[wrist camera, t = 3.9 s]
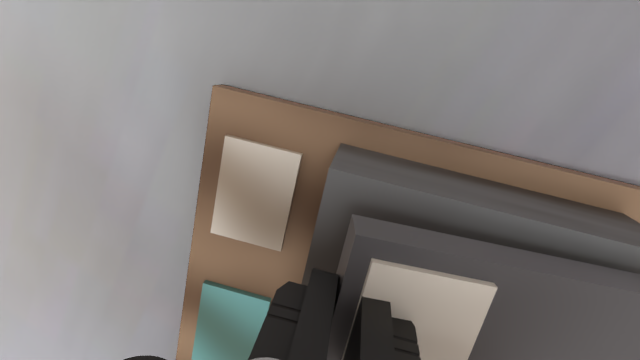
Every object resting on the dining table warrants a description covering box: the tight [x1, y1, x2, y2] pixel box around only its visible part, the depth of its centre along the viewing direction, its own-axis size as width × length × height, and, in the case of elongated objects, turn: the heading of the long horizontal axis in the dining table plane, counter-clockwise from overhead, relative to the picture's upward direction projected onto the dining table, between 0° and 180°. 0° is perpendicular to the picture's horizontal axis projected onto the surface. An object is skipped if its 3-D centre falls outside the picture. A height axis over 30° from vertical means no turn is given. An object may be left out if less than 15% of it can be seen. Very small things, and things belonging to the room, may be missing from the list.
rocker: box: [327, 214, 640, 360], centre depth 11 cm, size 5×9×2 cm, turn 77°
